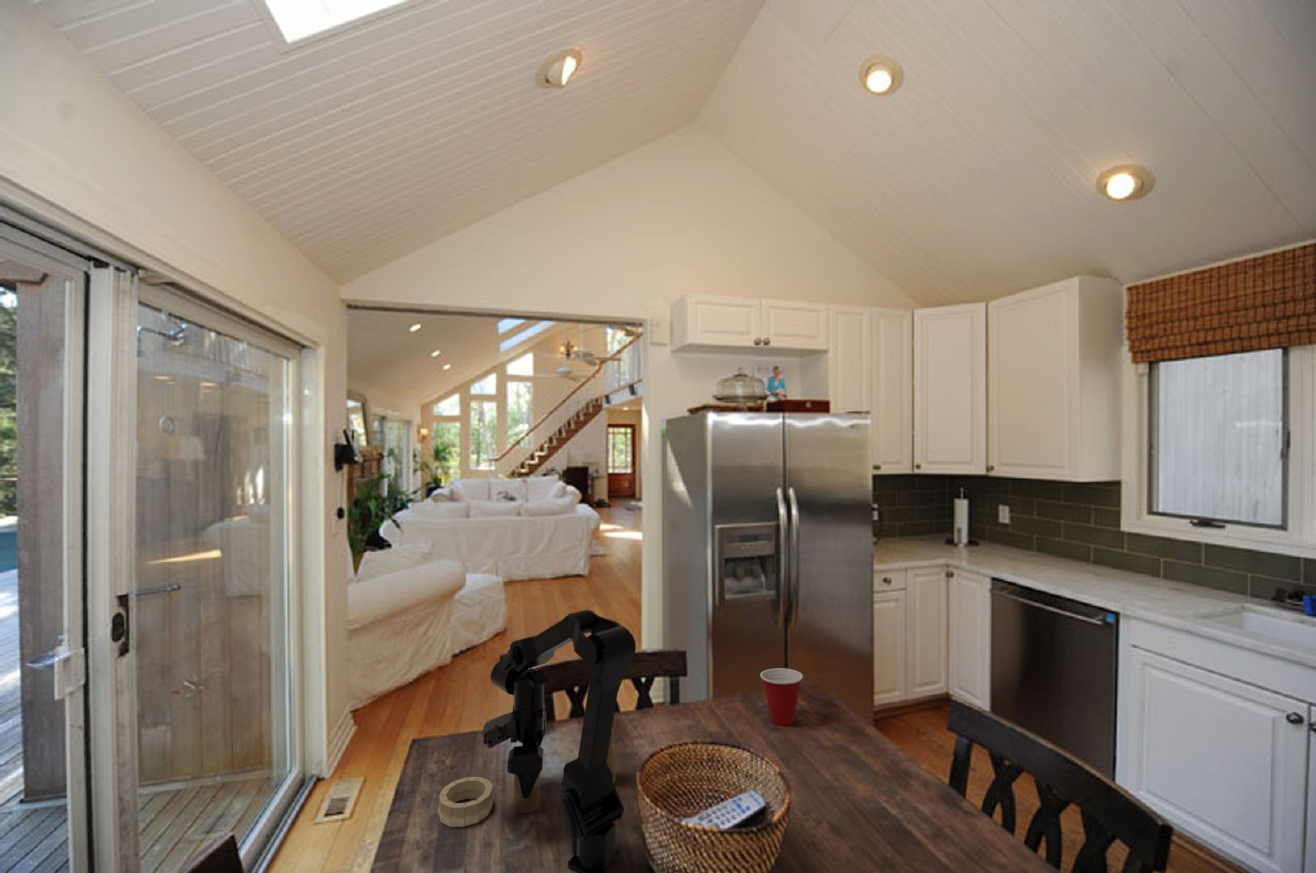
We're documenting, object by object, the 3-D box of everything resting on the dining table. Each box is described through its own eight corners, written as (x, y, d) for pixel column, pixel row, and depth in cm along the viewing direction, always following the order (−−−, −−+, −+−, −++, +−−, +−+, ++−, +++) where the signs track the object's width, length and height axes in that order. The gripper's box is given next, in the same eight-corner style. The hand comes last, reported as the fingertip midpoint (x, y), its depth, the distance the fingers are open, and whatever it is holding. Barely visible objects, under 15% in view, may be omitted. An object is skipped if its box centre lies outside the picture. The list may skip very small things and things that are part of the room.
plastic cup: (777, 706, 149) (777, 662, 150) (811, 721, 141) (811, 674, 141) (751, 718, 142) (751, 671, 143) (785, 735, 134) (785, 685, 135)
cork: (611, 789, 112) (612, 734, 112) (583, 785, 113) (583, 731, 113) (619, 772, 118) (619, 720, 118) (592, 769, 119) (593, 717, 119)
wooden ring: (501, 803, 107) (502, 785, 107) (464, 833, 99) (464, 813, 99) (467, 789, 111) (467, 772, 111) (428, 816, 103) (428, 797, 103)
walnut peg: (545, 801, 108) (546, 754, 108) (528, 816, 103) (528, 767, 104) (525, 793, 110) (526, 748, 111) (508, 807, 106) (508, 760, 106)
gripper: (492, 684, 115) (491, 760, 115) (478, 728, 97) (477, 819, 96) (546, 681, 117) (545, 755, 117) (543, 724, 99) (541, 812, 98)
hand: (527, 783), depth 107 cm, fingers open, 9 cm apart
